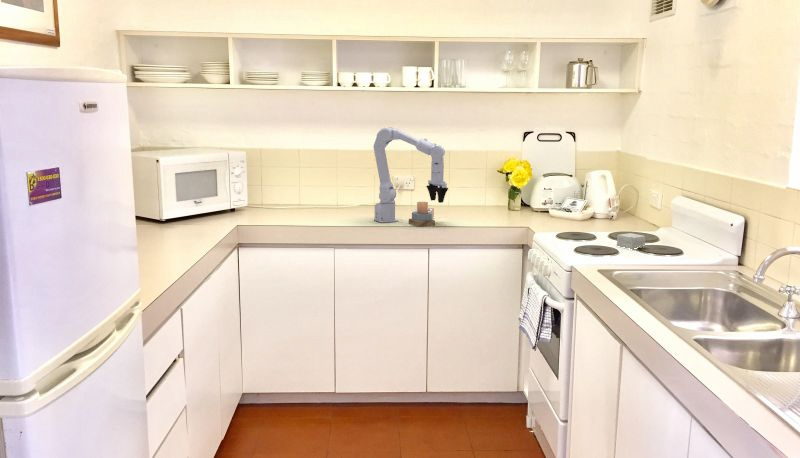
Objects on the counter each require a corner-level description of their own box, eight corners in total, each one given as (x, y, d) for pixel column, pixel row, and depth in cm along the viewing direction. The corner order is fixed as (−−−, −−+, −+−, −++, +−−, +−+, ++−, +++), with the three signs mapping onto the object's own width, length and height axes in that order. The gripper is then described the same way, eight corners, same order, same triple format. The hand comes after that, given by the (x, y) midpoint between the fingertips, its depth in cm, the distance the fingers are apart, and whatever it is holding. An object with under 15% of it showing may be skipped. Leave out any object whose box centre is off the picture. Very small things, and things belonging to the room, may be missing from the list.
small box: (629, 244, 276) (630, 232, 275) (645, 248, 269) (646, 235, 268) (616, 246, 272) (617, 234, 271) (631, 250, 265) (632, 237, 264)
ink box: (433, 207, 331) (430, 211, 320) (433, 217, 332) (429, 222, 321) (416, 207, 333) (412, 211, 322) (416, 217, 334) (412, 221, 322)
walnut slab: (417, 228, 308) (417, 221, 308) (408, 224, 316) (408, 218, 316) (434, 226, 312) (435, 220, 311) (425, 223, 320) (425, 217, 319)
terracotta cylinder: (420, 214, 310) (420, 203, 309) (415, 212, 314) (415, 202, 313) (429, 213, 312) (429, 202, 311) (424, 212, 316) (424, 201, 315)
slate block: (418, 221, 309) (418, 214, 308) (411, 218, 315) (411, 212, 315) (431, 220, 312) (431, 213, 311) (425, 217, 318) (425, 211, 318)
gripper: (452, 173, 308) (452, 203, 310) (437, 170, 321) (437, 198, 323) (439, 174, 305) (438, 203, 307) (424, 171, 318) (423, 199, 320)
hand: (436, 201), depth 315 cm, fingers open, 7 cm apart
